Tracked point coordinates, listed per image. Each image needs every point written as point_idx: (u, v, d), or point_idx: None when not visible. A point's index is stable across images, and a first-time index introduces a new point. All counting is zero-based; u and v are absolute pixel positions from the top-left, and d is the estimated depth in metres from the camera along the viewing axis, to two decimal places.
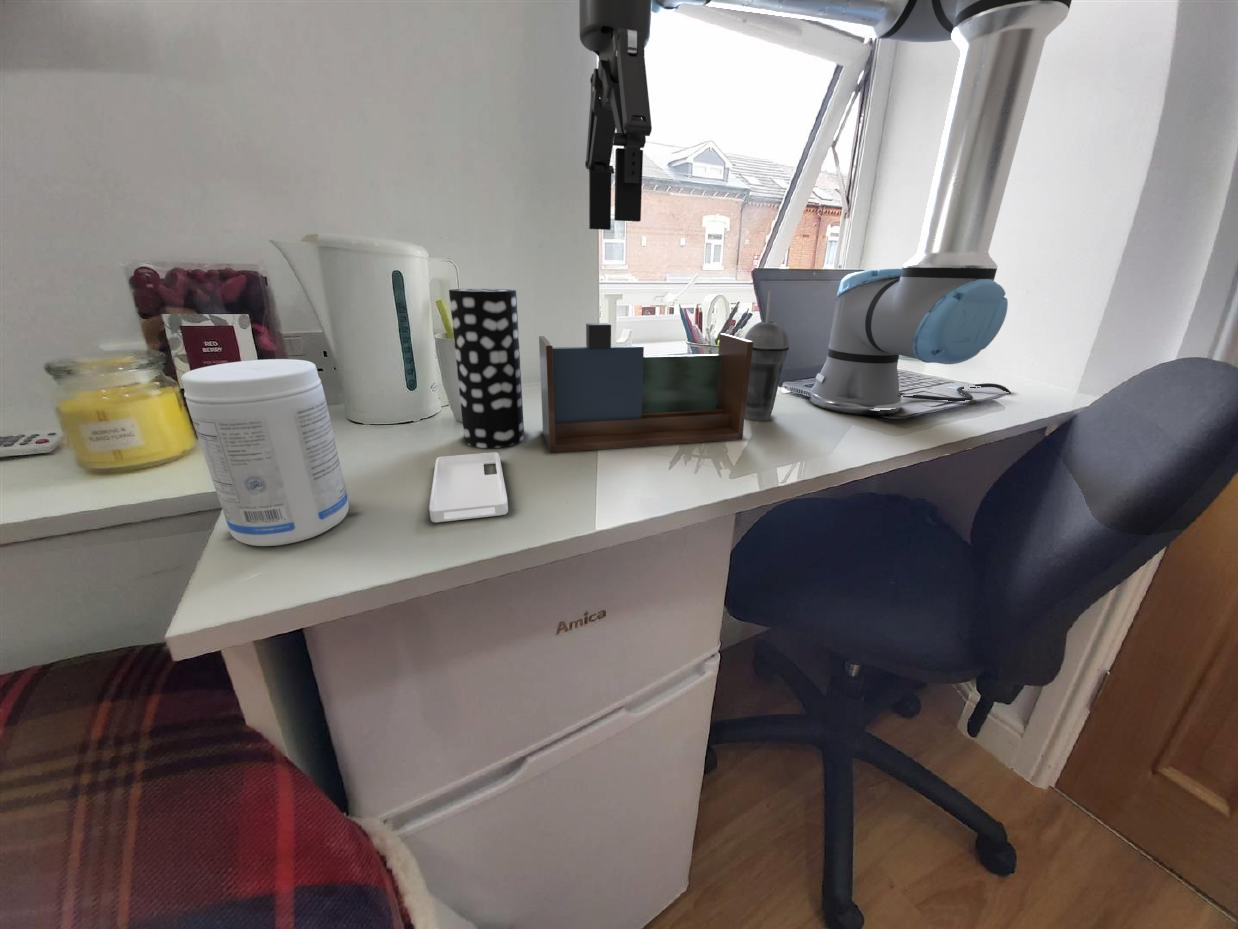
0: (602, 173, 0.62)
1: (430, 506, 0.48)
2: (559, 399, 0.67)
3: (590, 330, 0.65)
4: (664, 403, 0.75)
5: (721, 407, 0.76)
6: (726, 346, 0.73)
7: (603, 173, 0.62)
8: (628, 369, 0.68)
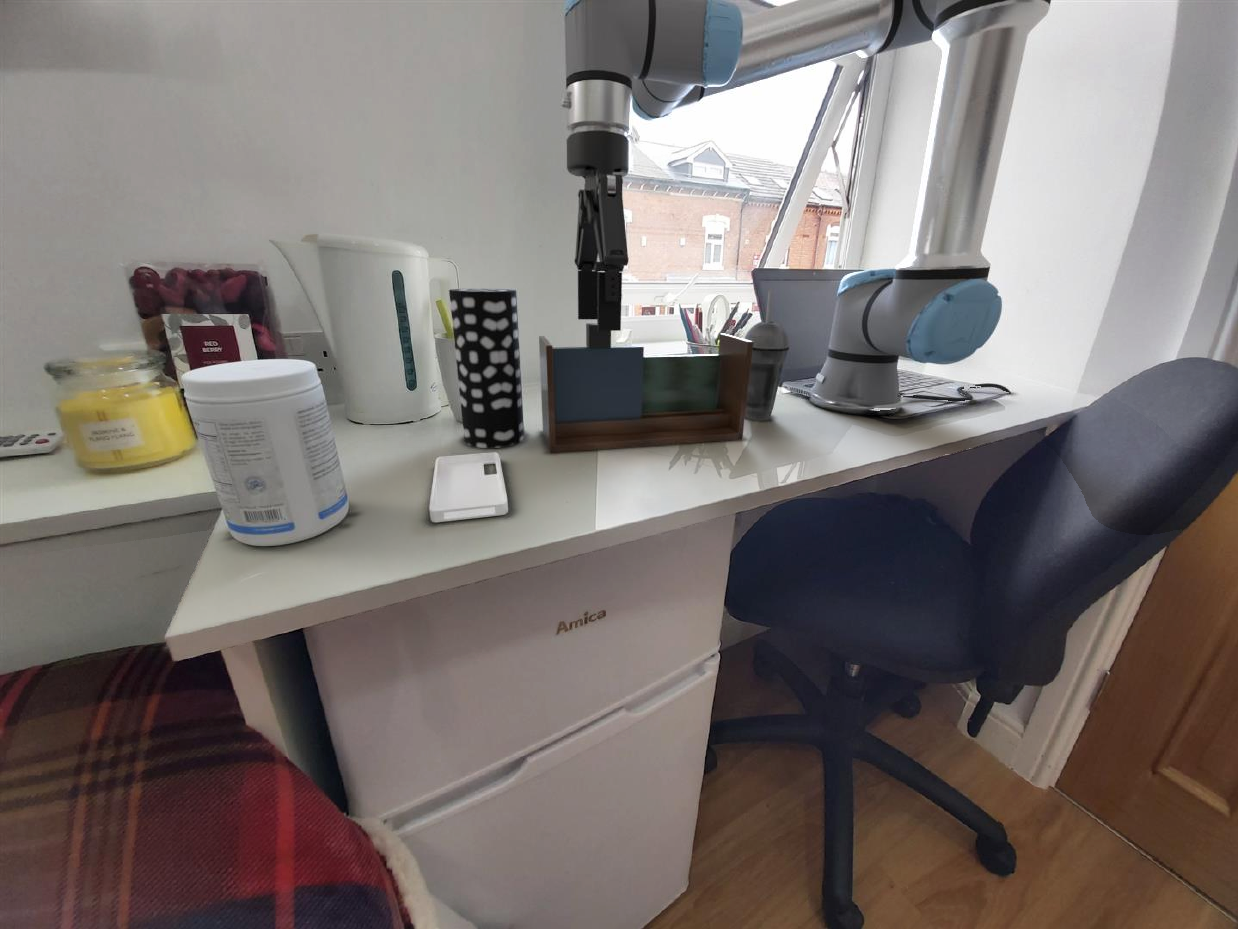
0: (589, 272, 0.69)
1: (430, 506, 0.48)
2: (559, 399, 0.67)
3: (590, 330, 0.65)
4: (664, 403, 0.75)
5: (721, 407, 0.76)
6: (726, 346, 0.73)
7: (590, 272, 0.69)
8: (628, 369, 0.68)
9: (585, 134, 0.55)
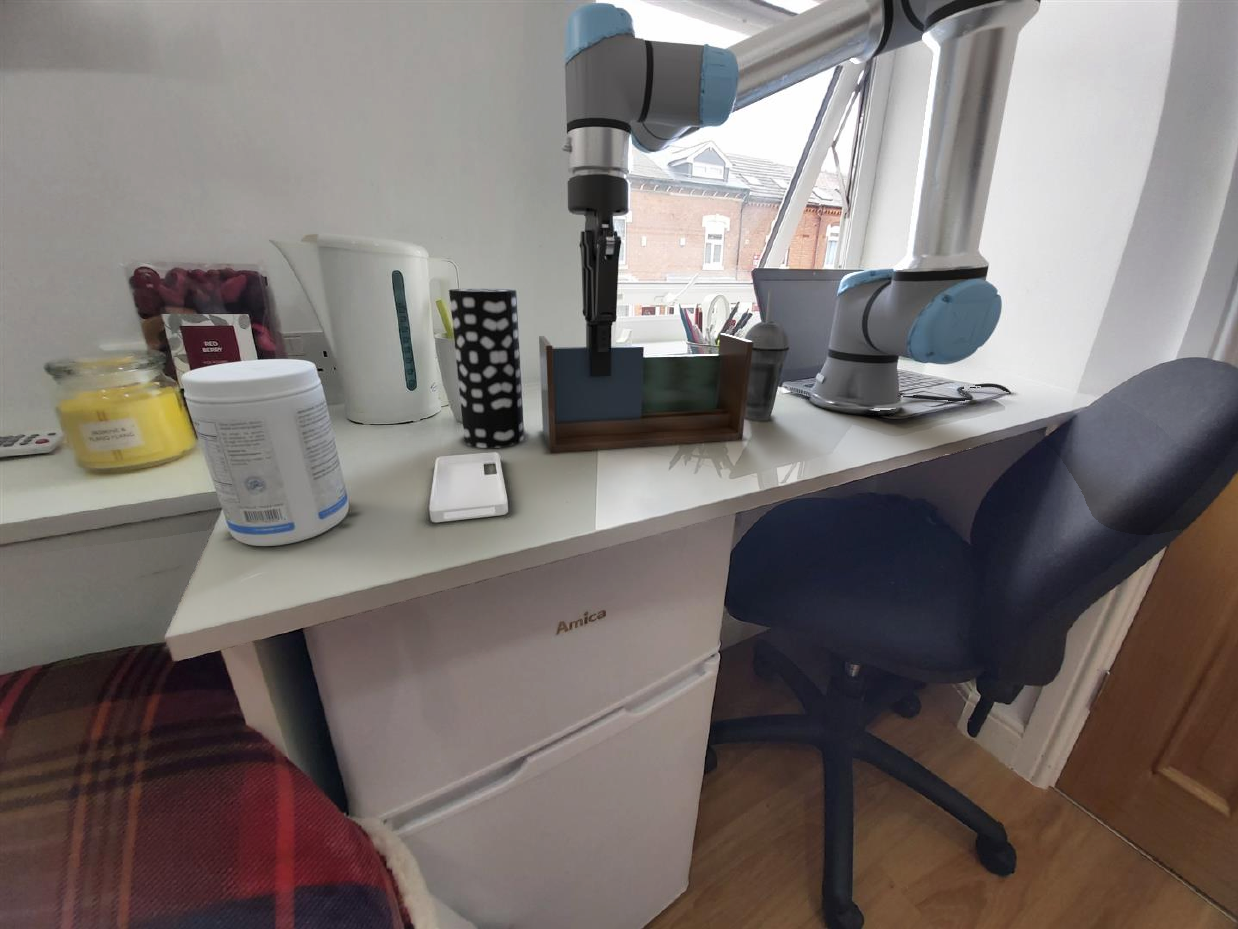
0: None
1: (430, 506, 0.48)
2: (559, 399, 0.67)
3: None
4: (664, 403, 0.75)
5: (721, 407, 0.76)
6: (726, 346, 0.73)
7: None
8: (628, 369, 0.68)
9: (585, 178, 0.56)
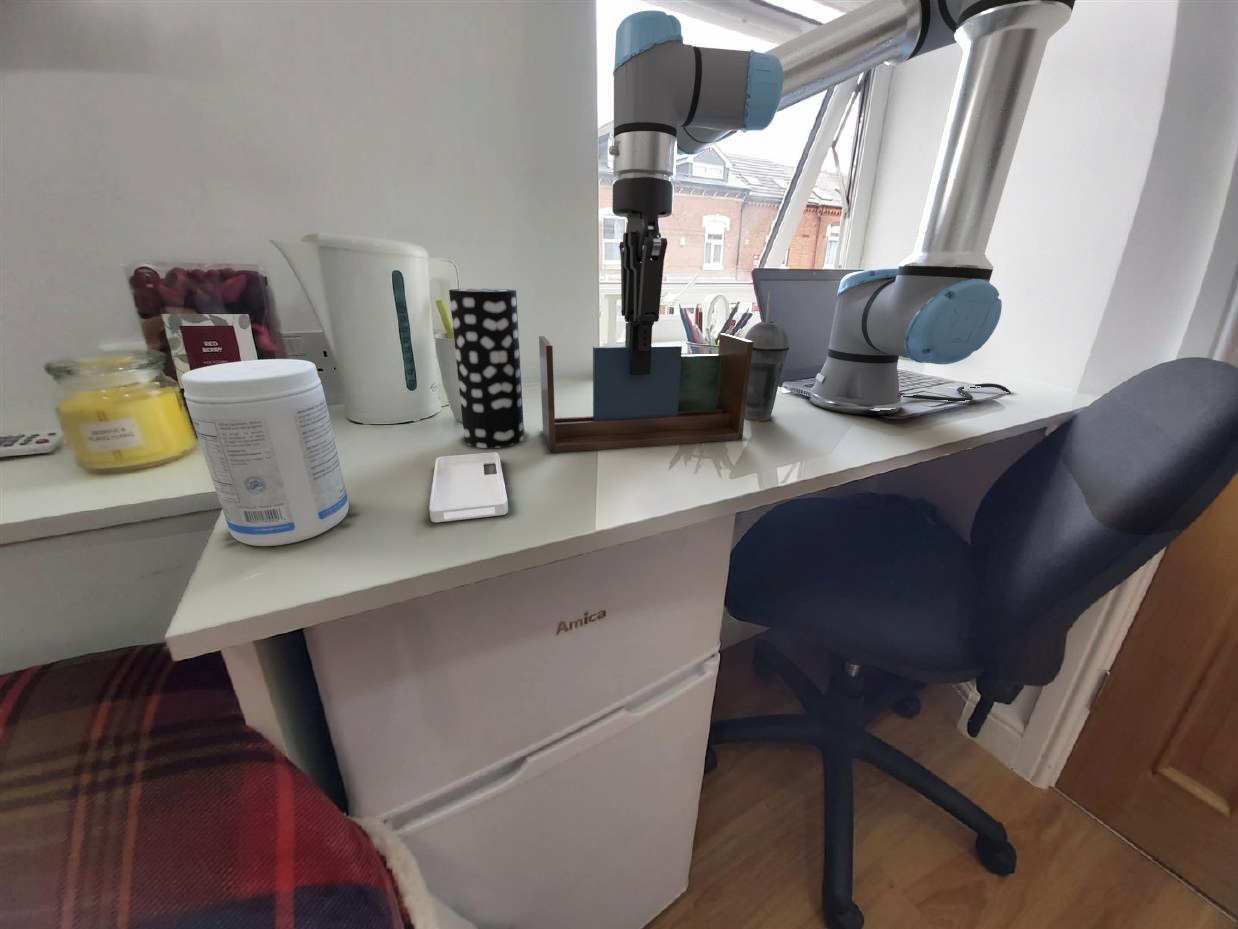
0: None
1: (430, 506, 0.48)
2: (599, 397, 0.69)
3: None
4: None
5: (721, 407, 0.76)
6: (726, 346, 0.73)
7: None
8: (666, 368, 0.69)
9: (632, 180, 0.58)
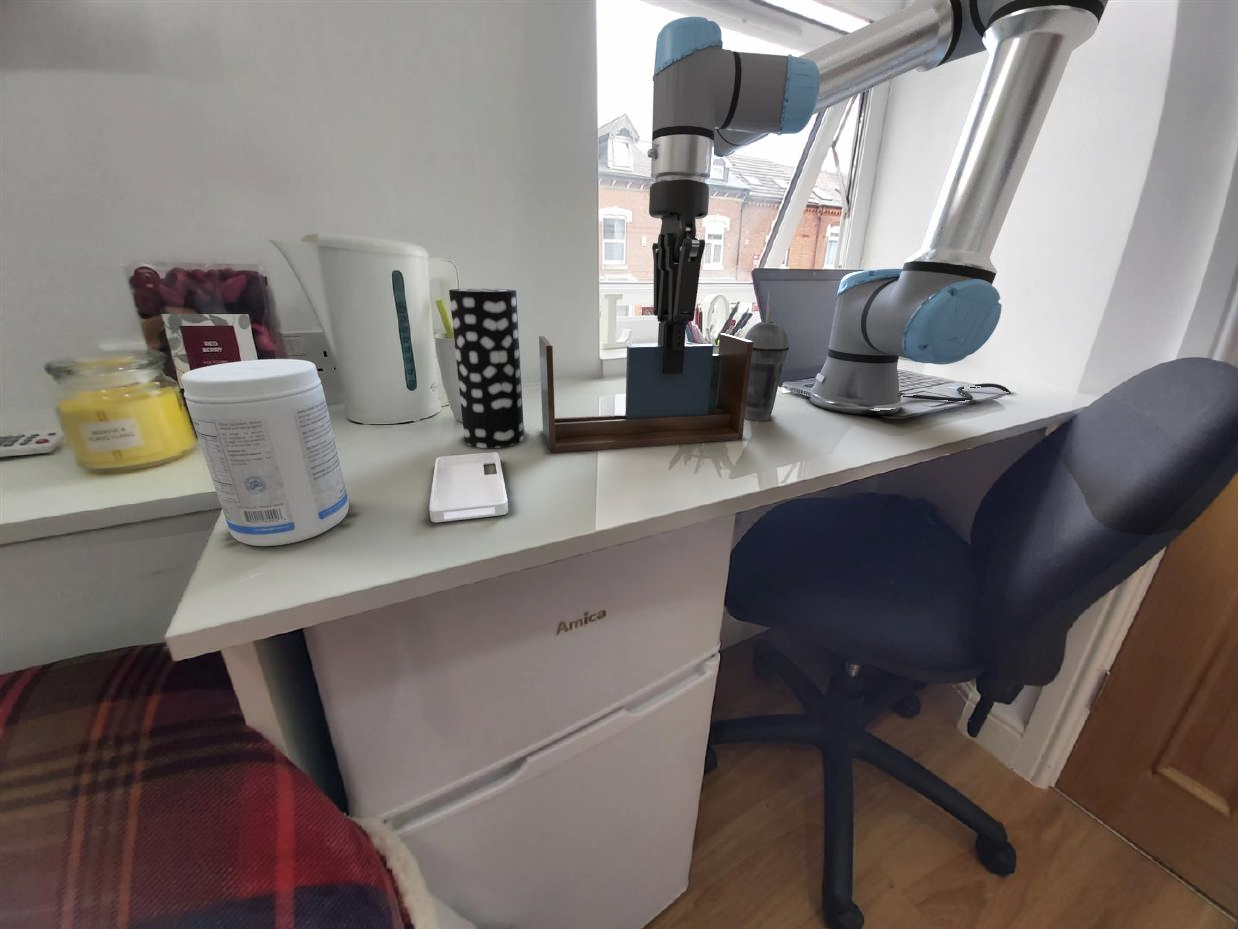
0: None
1: (430, 506, 0.48)
2: (632, 396, 0.70)
3: None
4: None
5: (721, 407, 0.76)
6: (726, 346, 0.73)
7: None
8: (698, 367, 0.70)
9: (671, 183, 0.59)
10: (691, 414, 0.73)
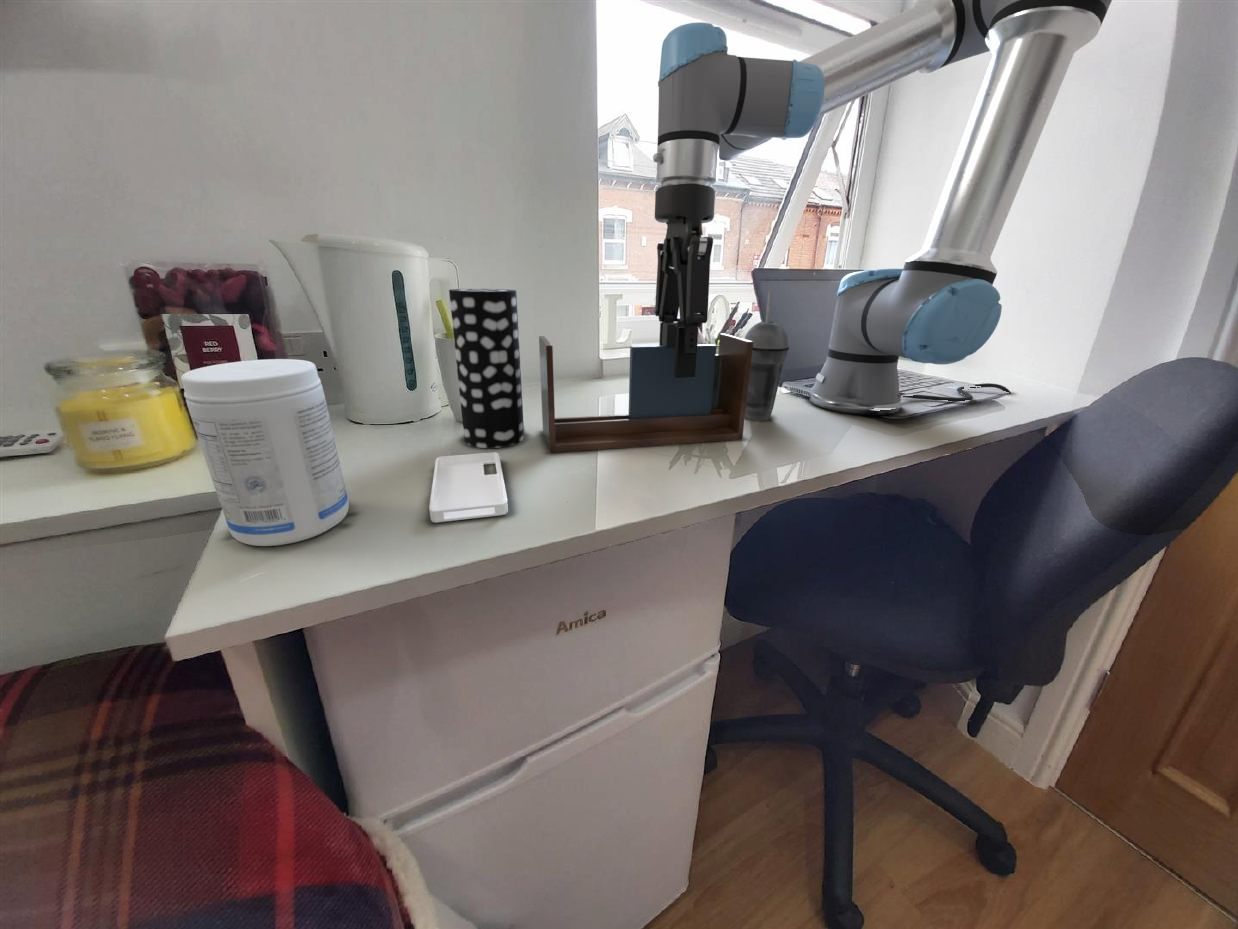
0: None
1: (430, 506, 0.48)
2: (635, 396, 0.70)
3: (668, 329, 0.67)
4: None
5: (721, 407, 0.76)
6: (726, 346, 0.73)
7: None
8: (701, 367, 0.71)
9: (677, 187, 0.59)
10: (694, 414, 0.73)
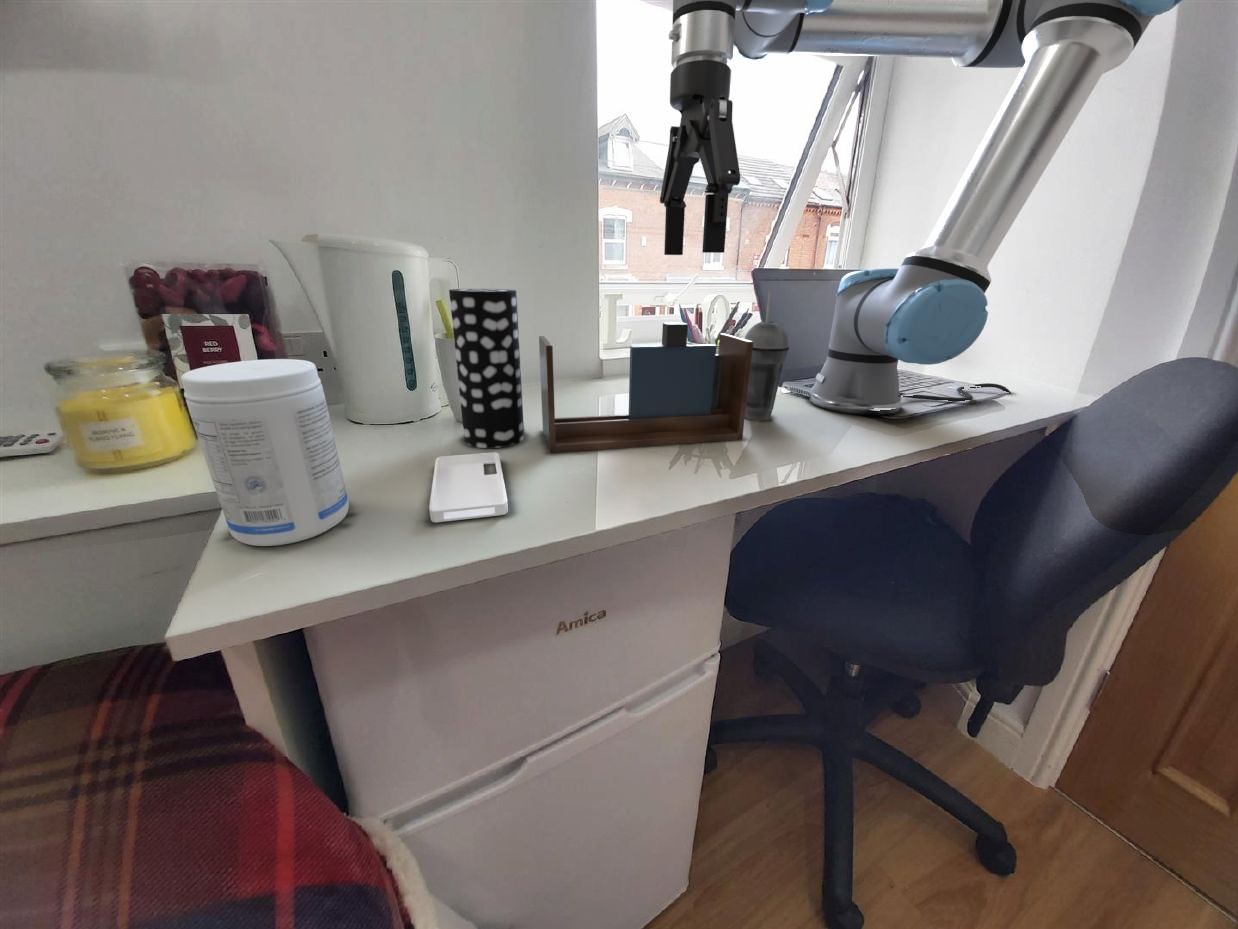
0: (677, 208, 0.73)
1: (430, 506, 0.48)
2: (635, 396, 0.70)
3: (668, 329, 0.67)
4: None
5: (721, 407, 0.76)
6: (726, 346, 0.73)
7: (678, 208, 0.73)
8: (701, 367, 0.71)
9: (694, 63, 0.59)
10: (694, 414, 0.73)
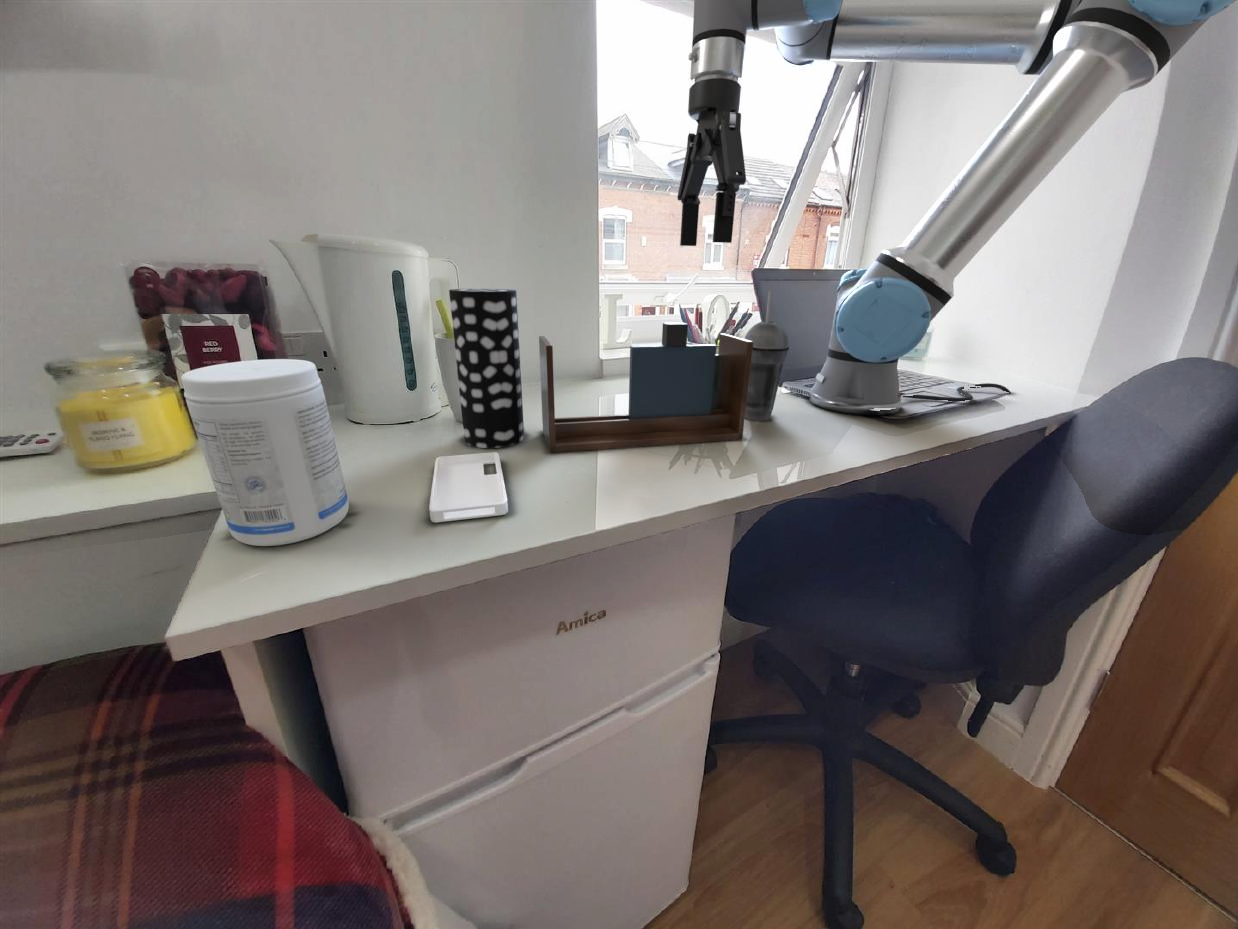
0: (692, 204, 0.83)
1: (430, 506, 0.48)
2: (635, 396, 0.70)
3: (668, 329, 0.67)
4: None
5: (721, 407, 0.76)
6: (726, 346, 0.73)
7: (693, 204, 0.83)
8: (701, 367, 0.71)
9: (709, 81, 0.69)
10: (694, 414, 0.73)
